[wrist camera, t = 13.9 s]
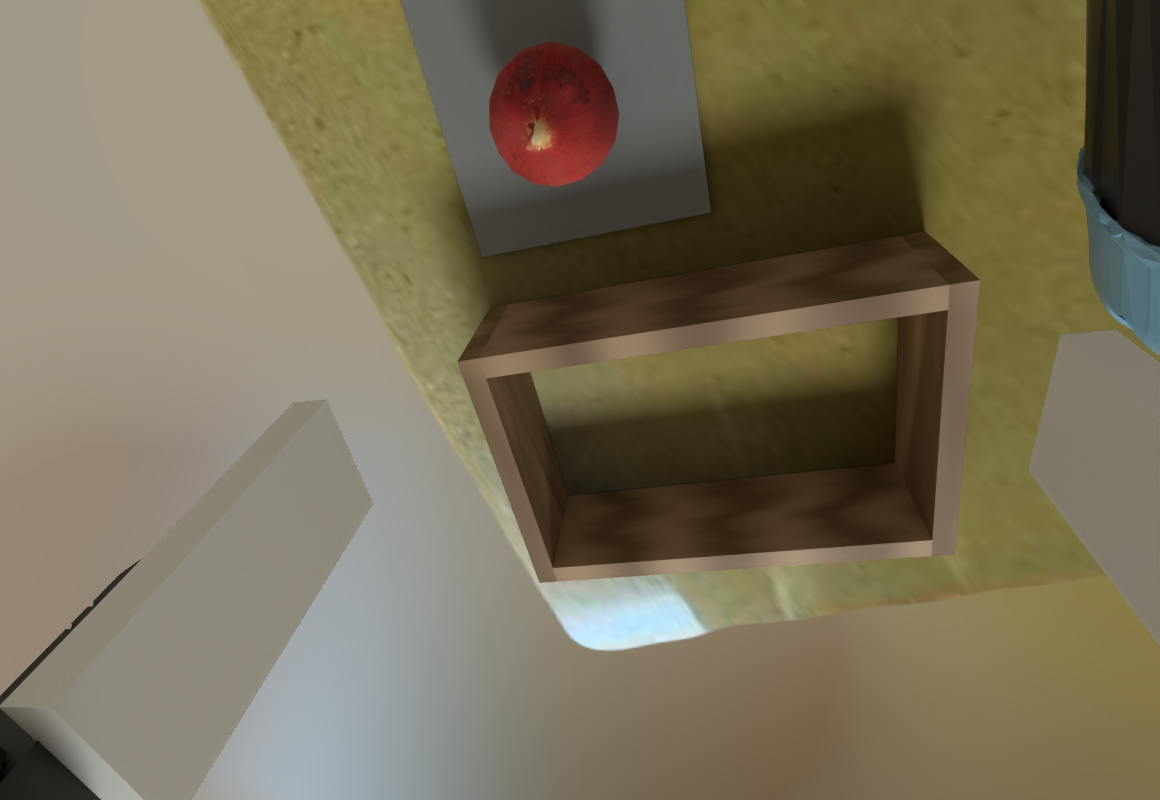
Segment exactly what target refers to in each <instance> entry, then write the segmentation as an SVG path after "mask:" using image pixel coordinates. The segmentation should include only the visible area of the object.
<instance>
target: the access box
mask: <svg viewBox="0 0 1160 800" xmlns="http://www.w3.org/2000/svg"><path fill="white" fill-rule="evenodd" d="M979 289H980V279H979V278H977V277H976V276H975V275H974V274H973V273H972V272H971V271H970V270H968V269H967V268H966V267H965V266H964V265H963V264H962V263H961V262H959V261H958V260H957V259H956V258H955V257H954V256H953V255H951V254H950V253H949V252H948V251H947V250H946V249H945V248H944V247H942V246H941V245H940V244H939V243H938V242H937V241H936V240H934V239H933V238H932V237H931V236H930V235H929V234H928V233H927V232H925V231H924V232H918V233H912V234H907V235H901V236H895V237H889V238H884V239H878V240H872V241H867V242H861V243H855V244H849V245H844V246H838V247H832V248H827V249H821V250H815V251H810V252H804V253H798V254H792V255H787V256H781V257H775V258H770V259H764V260H758V261H752V262H747V263H741V264H735V265H730V266H724V267H718V268H713V269H707V270H701V271H695V272H690V273H684V274H678V275H673V276H667V277H661V278H655V279H650V280H644V281H638V282H633V283H627V284H621V285H616V286H610V287H604V288H598V289H593V290H587V291H581V292H576V293H570V294H564V295H558V296H553V297H547V298H541V299H536V300H530V301H524V302H519V303H513V304H507V305H501V306H496V307H490V309H489V311H488V312H487V314H486V316H485V317H484V319H483V321H482V322H481V324H480V325H479V327H478V329H477V330H476V332H475V334H474V335H473V337H472V339H471V340H470V342H469V344H468V345H467V347H466V349H465V350H464V352H463V353H462V355H461V357H460V358H459V360H458V365H459V367H460V370H461V373H462V375H463V378H464V381H465V384H466V386H467V389H468V392H469V394H470V397H471V400H472V402H473V405H474V408H475V410H476V413H477V416H478V418H479V421H480V424H481V426H482V429H483V432H484V435H485V437H486V440H487V443H488V445H489V448H490V451H491V453H492V456H493V459H494V461H495V464H496V467H497V469H498V472H499V475H500V477H501V480H502V483H503V486H504V488H505V491H506V494H507V496H508V499H509V502H510V504H511V507H512V510H513V512H514V515H515V518H516V520H517V523H518V526H519V529H520V531H521V534H522V537H523V539H524V542H525V545H526V547H527V550H528V553H529V555H530V558H531V561H532V563H533V566H534V569H535V571H536V574H537V577H538V580H539V582H540V583H542V582H556V581H571V580H585V579H600V578H614V577H629V576H644V575H658V574H673V573H687V572H702V571H717V570H731V569H746V568H760V567H775V566H790V565H804V564H819V563H833V562H848V561H863V560H877V559H892V558H906V557H921V556H935V555H950V554H955V548H956V537H957V526H958V516H959V505H960V494H961V483H962V472H963V462H964V451H965V440H966V429H967V418H968V408H969V397H970V386H971V375H972V365H973V354H974V343H975V332H976V321H977V311H978V300H979ZM897 317H898V353H897V394H896V434H895V463H890V464H880V465H870V466H860V467H850V468H840V469H830V470H820V471H810V472H800V473H790V474H780V475H770V476H760V477H750V478H740V479H730V480H720V481H710V482H700V483H690V484H680V485H670V486H660V487H650V488H640V489H630V490H620V491H610V492H600V493H590V494H580V495H570V496H568V493H567V490H566V487H565V484H564V480H563V477H562V474H561V471H560V467H559V464H558V461H557V458H556V455H555V451H554V448H553V445H552V442H551V438H550V435H549V432H548V429H547V425H546V422H545V419H544V416H543V413H542V409H541V406H540V403H539V400H538V396H537V393H536V390H535V387H534V384H533V380H532V377H531V374H530V372H533V371H540V370H547V369H553V368H560V367H567V366H574V365H580V364H587V363H594V362H600V361H607V360H614V359H621V358H627V357H634V356H641V355H648V354H654V353H661V352H668V351H675V350H681V349H688V348H695V347H702V346H708V345H715V344H722V343H729V342H735V341H742V340H749V339H756V338H762V337H769V336H776V335H783V334H789V333H796V332H803V331H810V330H816V329H823V328H830V327H836V326H843V325H850V324H857V323H863V322H870V321H877V320H884V319H890V318H897Z"/></svg>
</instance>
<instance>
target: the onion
mask: <svg viewBox="0 0 1160 800" xmlns="http://www.w3.org/2000/svg"><path fill="white" fill-rule="evenodd" d="M618 120H619V110H618V106H617V101H616V97H615V92H614V88H613V86H612V85H611V83H610V81H609V79H608V78H607V76H606V74H605V72H604V71H603V69H602V67H601V65H600V64H598V63H597V62H596V61H594V60H593V59H592V58H591V57H589V56H588V55H587V54H585V53H584V52H583V51H581V50H580V49H579V48H576V47H572V46H568V45H563V44H559V43H555V42H550V41H549V42H546V43H542V44H539V45H536V46H532V47H529V48H526V49H523V50H521V51H520V52H519V53H518V54H517V55H516V56H515V57H514V58H513V59H512V60H511V61H510V62H509V63H508V64H507V65H506V66H505V67H504V68H503V69H502V71H501V72H500V73H499V74H498V76H497V79H496V82H495V85H494V87H493V90H492V93H491V96H490V99H489V129H490V132H491V135H492V137H493V140H494V143H495V145H496V148H497V150H498V152H499V154H500V155H501V156H502V158H503V159H504V160H505V162H506V163H507V164H508V166H509V167H510V169H511V170H512V171H513V172H514V173H516V174H517V175H519V176H521V177H523V178H524V179H526V180H528V181H530V182H532V183H533V184H539V185H547V186H555V187H557V186H561V185H565V184H568V183H572V182H576V181H579V180H582V179H583V178H585V177H586V176H587V175H589V174H590V173H591V172H592V171H594V170H595V169H596V168H598V167H599V166H600V165H602V163H603V161H604V160H605V158H606V156H607V155H608V153H609V151H610V150H611V148H612V146H613V145H614V143H615V141H616V135H617V128H618Z"/></svg>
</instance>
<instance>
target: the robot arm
mask: <svg viewBox="0 0 1160 800" xmlns="http://www.w3.org/2000/svg"><path fill="white" fill-rule="evenodd" d="M1077 178H1078V179H1077V185H1078V189H1079V193H1080V196H1081V198H1082V200H1083V203H1084V205H1085V207H1086V213H1087V225H1088V238H1089V264H1090V270H1091V276H1092V280H1093V283H1094V286H1095V289H1096V292H1097V294H1098V296H1099V297H1100V299H1101V301H1102V303H1103V304H1104V306H1105V307H1106V309H1107V310H1108V311H1109V313H1110V314H1111V315H1112V316H1113V317H1114V318H1115V319H1117V320H1118V321H1119V322H1120V323H1122V324H1123V325H1125V326H1126V327H1128V328H1130V329H1132V330H1133V331H1134V333H1135V334H1136V336H1137V337H1138V338H1139V339H1140V340H1141V341H1142V343H1143V344H1144V345H1145V346H1147V347H1148V348H1149V349H1151V350H1152V351H1153V352H1155V353H1157V354H1158V355H1160V0H1087V24H1086V115H1085V145H1084V146H1083V147H1082V148H1081V149H1080V152H1079V157H1078V163H1077ZM1028 471H1029V472H1030V474H1031V475H1032V476H1033V478H1034V479H1035V480H1036V482H1037V483H1038V484H1039V486H1040V487H1041V488H1042V490H1043V491H1044V492H1045V494H1046V495H1047V496H1048V498H1049V499H1050V500H1051V502H1052V503H1053V504H1054V506H1055V507H1056V508H1057V510H1058V511H1059V512H1060V514H1061V515H1062V516H1063V518H1064V519H1065V520H1066V522H1067V523H1068V524H1069V526H1070V527H1071V528H1072V530H1073V531H1074V532H1075V534H1076V535H1077V536H1078V538H1079V539H1080V540H1081V542H1082V543H1083V544H1084V546H1085V547H1086V548H1087V550H1088V551H1089V552H1090V554H1091V555H1092V556H1093V558H1094V559H1095V560H1096V562H1097V563H1098V564H1099V566H1100V567H1101V568H1102V570H1103V571H1104V572H1105V574H1106V575H1107V576H1108V578H1109V579H1110V580H1111V581H1112V583H1113V584H1114V585H1115V587H1116V588H1117V590H1118V591H1119V592H1120V594H1121V595H1122V596H1123V597H1124V599H1125V600H1126V601H1127V603H1128V604H1129V605H1130V607H1131V608H1132V609H1133V611H1134V612H1135V614H1136V615H1137V616H1138V618H1139V619H1140V620H1141V621H1142V623H1143V624H1144V626H1145V627H1146V628H1147V630H1148V631H1149V632H1150V633H1151V635H1152V636H1153V638H1154V639H1155V640H1156V642H1157V643H1158V644H1159V645H1160V362H1158V361H1157V360H1156V359H1154V358H1153V357H1152V356H1150V355H1149V354H1148V353H1146V352H1145V351H1144V350H1142V349H1141V348H1140V347H1138V346H1137V345H1135V344H1134V343H1133V342H1131V341H1130V340H1129V339H1127V338H1126V337H1125V336H1123V335H1122V334H1121V333H1119V332H1118V331H1117V330H1110V331H1099V332H1087V333H1076V334H1065V335H1061V336H1060V340H1059V345H1058V349H1057V353H1056V357H1055V361H1054V366H1053V370H1052V374H1051V378H1050V382H1049V387H1048V391H1047V395H1046V399H1045V403H1044V408H1043V412H1042V416H1041V420H1040V424H1039V428H1038V433H1037V437H1036V441H1035V445H1034V449H1033V454H1032V458H1031V462H1030V466H1029V470H1028ZM372 505H373V502H372V499H371V498H370V495H369V493H368V491H367V488H366V486H365V484H364V482H363V479H362V477H361V475H360V473H359V470H358V468H357V466H356V464H355V461H354V459H353V457H352V455H351V453H350V450H349V448H348V446H347V444H346V441H345V439H344V437H343V435H342V432H341V430H340V428H339V426H338V423H337V421H336V419H335V417H334V414H333V412H332V410H331V408H330V405H329V403H328V401H327V400H318V401H306V402H295V403H293V404H292V405H291V406H290V407H289V408H288V409H287V410H286V411H285V412H284V413H283V414H282V415H281V416H280V417H279V418H278V419H277V420H276V421H275V422H274V423H273V424H272V425H271V426H270V427H269V428H268V429H267V430H266V432H265V433H263V435H262V436H261V437H260V438H259V439H258V440H257V441H256V442H255V443H254V444H253V445H252V446H251V447H250V448H249V449H248V450H247V451H246V452H245V453H244V454H243V455H242V456H241V457H240V458H239V459H238V460H237V461H236V462H235V464H233V465H232V467H231V468H230V469H229V470H228V471H227V472H226V473H225V474H224V475H223V476H222V477H221V478H220V479H219V480H218V481H217V482H216V483H215V484H214V485H213V486H212V487H211V488H210V489H209V490H208V491H207V492H206V493H205V494H204V495H203V496H202V498H200V500H199V501H198V502H197V503H196V504H195V505H194V506H193V507H192V508H191V509H190V510H189V511H188V512H187V513H186V514H185V515H184V516H183V517H182V518H181V519H180V520H179V521H178V522H177V523H176V524H175V525H174V527H172V528H171V530H169V531H168V533H167V534H166V535H165V536H164V537H163V538H162V539H161V540H160V541H159V542H158V543H157V544H156V545H155V546H154V547H153V548H152V549H151V550H150V551H149V552H148V553H147V554H146V555H145V556H144V557H143V558H142V559H141V560H139V561H138V562H136V563H135V564H133V565H132V566H131V567H129V568H128V569H127V570H125V571H124V572H123V573H121V574H120V575H119V576H118V577H117V578H116V579H115V580H114V581H113V582H112V583H111V584H110V585H109V586H108V587H107V588H106V589H105V590H104V591H103V592H102V593H101V594H100V595H99V596H98V597H97V598H96V599H95V600H94V605H93V606H92V607H87V608H86V609H85V610H84V611H83V612H82V613H81V614H80V615H79V616H78V617H77V618H76V619H75V620H74V621H73V622H72V627H71V629H65V631H64V632H63V633H62V634H61V635H60V636H59V637H58V638H57V639H56V640H55V641H54V642H53V643H52V644H51V645H50V646H49V647H48V648H47V649H46V650H45V651H44V652H43V653H42V654H41V655H40V656H39V657H38V658H37V659H36V660H35V661H34V662H33V663H32V664H31V665H30V666H29V667H28V668H27V669H26V670H25V671H24V672H23V673H22V674H21V675H20V676H19V677H18V678H17V679H16V680H15V681H14V683H13V684H11V686H10V687H9V688H8V689H7V690H6V691H5V692H4V693H3V694H2V695H1V696H0V800H192V798H193V796H194V795H195V793H196V791H197V790H198V788H199V787H200V785H201V783H202V782H203V780H204V778H205V777H206V775H207V774H208V772H209V770H210V768H211V767H212V765H213V764H214V762H215V760H216V759H217V757H218V756H219V754H220V752H221V751H222V749H223V748H224V746H225V744H226V743H227V741H228V739H229V738H230V736H231V734H232V733H233V731H234V730H235V728H236V726H237V724H238V723H239V721H240V720H241V718H242V717H243V715H244V713H245V712H246V710H247V708H248V707H249V705H250V703H251V702H252V700H253V699H254V697H255V695H256V694H257V692H258V690H259V689H260V687H261V686H262V684H263V682H264V681H265V679H266V677H267V676H268V674H269V673H270V671H271V669H272V668H273V666H274V664H275V663H276V661H277V659H278V658H279V656H280V655H281V653H282V651H283V650H284V648H285V646H286V645H287V643H288V641H289V640H290V638H291V636H292V635H293V633H294V632H295V630H296V628H297V627H298V625H299V624H300V622H301V620H302V619H303V617H304V615H305V613H306V612H307V610H308V609H309V607H310V606H311V604H312V602H313V601H314V599H315V598H316V596H317V594H318V592H319V591H320V589H321V588H322V586H323V584H324V583H325V581H326V580H327V578H328V576H329V575H330V573H331V571H332V570H333V568H334V566H335V565H336V563H337V561H338V560H339V558H340V557H341V555H342V553H343V552H344V550H345V549H346V547H347V545H348V544H349V542H350V540H351V539H352V537H353V536H354V534H355V532H356V531H357V529H358V527H359V526H360V524H361V522H362V521H363V519H364V517H365V516H366V514H367V513H368V511H369V509H370V508H371V506H372Z"/></svg>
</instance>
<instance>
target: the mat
mask: <svg viewBox="0 0 1160 800" xmlns="http://www.w3.org/2000/svg"><path fill="white" fill-rule="evenodd" d="M400 2H401V5H402V8H403V11H404V14H405V17H406V21H407V24H408V27H409V30H410V33H411V36H412V39H413V43H414V46H415V49H416V52H417V55H418V58H419V61H420V64H421V68H422V71H423V74H424V77H425V80H426V83H427V86H428V89H429V93H430V96H431V99H432V102H433V105H434V108H435V111H436V114H437V118H438V121H439V124H440V127H441V130H442V133H443V136H444V139H445V143H446V146H447V149H448V152H449V155H450V158H451V161H452V164H453V168H454V171H455V174H456V177H457V180H458V183H459V186H460V189H461V193H462V196H463V199H464V202H465V205H466V208H467V211H468V214H469V218H470V221H471V224H472V227H473V230H474V233H475V236H476V239H477V243H478V246H479V249H480V252H481V255H482V257H486V256H491V255H496V254H501V253H506V252H512V251H517V250H522V249H527V248H532V247H537V246H542V245H547V244H553V243H558V242H563V241H568V240H573V239H578V238H583V237H588V236H594V235H599V234H604V233H609V232H614V231H619V230H624V229H629V228H635V227H640V226H645V225H650V224H655V223H660V222H665V221H670V220H676V219H681V218H686V217H691V216H696V215H701V214H706V213H711V207H710V200H709V192H708V184H707V176H706V168H705V160H704V152H703V144H702V136H701V128H700V120H699V112H698V105H697V97H696V89H695V81H694V73H693V65H692V57H691V49H690V41H689V33H688V25H687V17H686V10H685V2H684V0H400ZM549 41H550V42H555V43H559V44H563V45H568V46H572V47H576V48H579V49H580V50H581V51H583V52H584V53H585V54H587V55H588V56H589V57H591V58H592V59H593V60H594V61H596V62H597V63H598V64H600V65H601V67H602V69H603V71H604V72H605V74H606V76H607V78H608V79H609V81H610V83H611V85H612V86H613V88H614V92H615V97H616V101H617V106H618V110H619V120H618V128H617V135H616V141H615V143H614V145H613V146H612V148H611V150H610V151H609V153H608V155H607V156H606V158H605V160H604V161H603V163H602V165H600V166H599V167H598V168H596V169H595V170H594V171H592V172H591V173H590V174H589V175H587V176H586V177H585V178H583V179H582V180H579V181H576V182H572V183H568V184H565V185H561V186H557V187H555V186H547V185H539V184H533V183H532V182H530V181H528V180H526V179H524V178H523V177H521V176H519V175H517V174H516V173H514V172H513V171H512V170H511V169H510V167H509V166H508V164H507V163H506V162H505V160H504V159H503V158H502V156H501V155H500V154H499V152H498V150H497V148H496V145H495V143H494V140H493V137H492V135H491V132H490V129H489V99H490V96H491V93H492V90H493V87H494V85H495V82H496V79H497V76H498V74H499V73H500V72H501V71H502V69H503V68H504V67H505V66H506V65H507V64H508V63H509V62H510V61H511V60H512V59H513V58H514V57H515V56H516V55H517V54H518V53H519V52H520V51H521V50H523V49H526V48H529V47H532V46H536V45H539V44H542V43H546V42H549Z"/></svg>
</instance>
